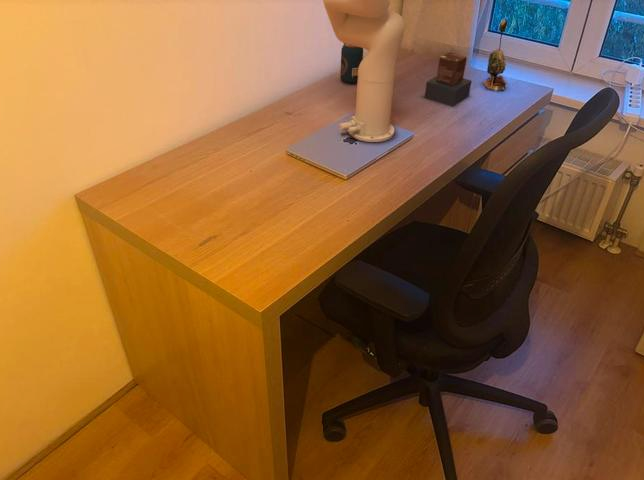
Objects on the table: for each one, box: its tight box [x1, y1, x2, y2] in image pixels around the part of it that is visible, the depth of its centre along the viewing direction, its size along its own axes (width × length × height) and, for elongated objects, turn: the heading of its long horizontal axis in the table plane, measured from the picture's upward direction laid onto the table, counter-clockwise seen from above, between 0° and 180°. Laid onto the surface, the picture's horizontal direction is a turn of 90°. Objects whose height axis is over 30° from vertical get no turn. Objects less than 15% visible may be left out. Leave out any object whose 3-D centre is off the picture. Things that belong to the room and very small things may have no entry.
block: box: [424, 75, 472, 107], centre depth 165 cm, size 10×10×5 cm
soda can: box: [339, 43, 364, 86], centre depth 171 cm, size 7×7×12 cm
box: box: [436, 51, 468, 86], centre depth 161 cm, size 6×6×7 cm
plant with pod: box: [482, 18, 508, 92], centre depth 167 cm, size 8×11×20 cm
